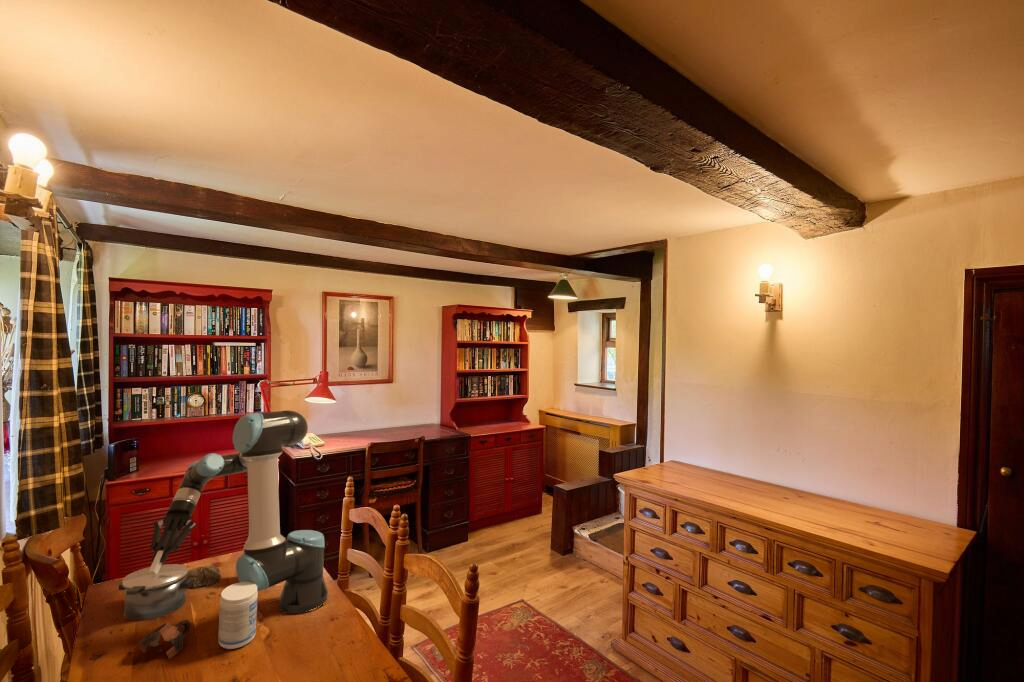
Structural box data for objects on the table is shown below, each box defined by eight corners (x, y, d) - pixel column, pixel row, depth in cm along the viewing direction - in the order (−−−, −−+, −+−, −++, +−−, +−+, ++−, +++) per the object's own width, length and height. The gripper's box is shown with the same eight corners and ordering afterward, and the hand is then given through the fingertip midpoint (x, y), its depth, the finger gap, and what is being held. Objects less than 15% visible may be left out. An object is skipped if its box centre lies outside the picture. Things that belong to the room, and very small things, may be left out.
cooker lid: (162, 594, 145) (162, 589, 145) (100, 596, 142) (100, 591, 142) (197, 567, 165) (197, 563, 165) (143, 568, 163) (144, 564, 163)
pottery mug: (160, 668, 127) (145, 641, 127) (144, 672, 131) (129, 646, 131) (203, 633, 138) (189, 608, 138) (187, 638, 142) (173, 614, 142)
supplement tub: (256, 644, 138) (259, 595, 137) (218, 655, 133) (220, 604, 132) (254, 624, 146) (256, 577, 145) (217, 633, 141) (220, 585, 140)
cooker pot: (176, 619, 149) (177, 590, 149) (102, 622, 146) (104, 592, 147) (204, 591, 166) (205, 565, 166) (138, 593, 163) (140, 567, 164)
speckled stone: (179, 579, 175) (179, 565, 175) (218, 569, 183) (218, 556, 183) (184, 593, 165) (185, 578, 165) (225, 582, 174) (226, 568, 174)
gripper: (207, 508, 174) (179, 576, 157) (168, 509, 172) (135, 577, 155) (200, 498, 169) (170, 567, 152) (160, 498, 167) (125, 568, 150)
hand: (153, 572), depth 154 cm, fingers closed
